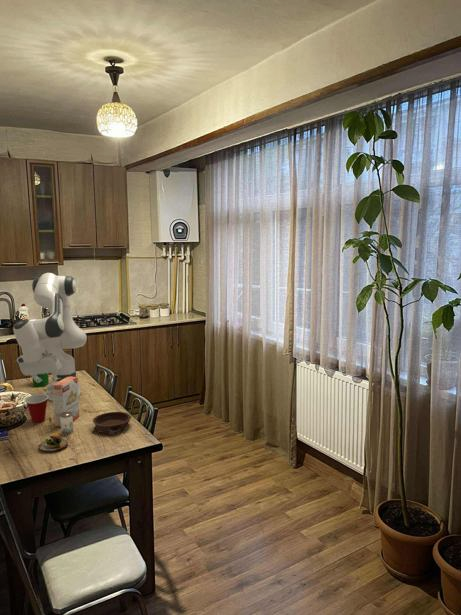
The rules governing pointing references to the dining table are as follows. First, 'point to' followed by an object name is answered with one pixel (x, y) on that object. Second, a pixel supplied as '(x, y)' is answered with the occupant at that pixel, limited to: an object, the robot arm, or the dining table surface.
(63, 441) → the burger
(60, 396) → the cracker box
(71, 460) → the dining table surface
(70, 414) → the tea canister
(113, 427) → the dish
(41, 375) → the milk carton
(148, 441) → the dining table surface
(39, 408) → the plastic cup
